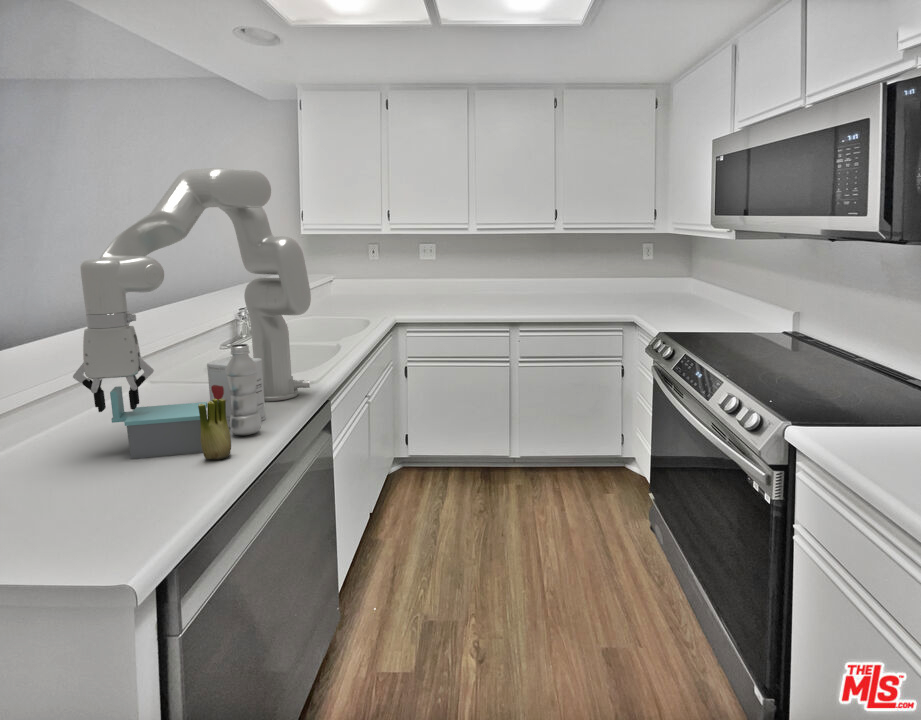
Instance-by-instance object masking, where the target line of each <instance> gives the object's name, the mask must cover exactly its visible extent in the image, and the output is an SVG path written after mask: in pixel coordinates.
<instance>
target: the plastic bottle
mask: <svg viewBox="0 0 921 720" xmlns="http://www.w3.org/2000/svg"><path fill="white" fill-rule="evenodd" d="M249 354H251V353H250V348H249V344H247V343H237V344H232V345H230V355H231V357H232V358H231V360H230V361H229V363H228V365H227V368H226V375H227V379H228V383H229V388H230V394H231V415H230V428H229V429H230V432H231V433H233V434H234V435H235V436H250V435H253V434H256V433H258V432H259V431H260V429H261V425H262V421H261V418H260V414H259V412H258V405H257V399H256V382H257V366H256V364H255V362H254V361H253V360H252V359H251V358H252V357H251V356H250V355H249Z"/></svg>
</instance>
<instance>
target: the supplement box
mask: <svg viewBox="0 0 921 720" xmlns="http://www.w3.org/2000/svg"><path fill="white" fill-rule="evenodd" d="M231 358H232V355H231V356H228V357H224V358H221V359H218V360H214V361H210V362H208V363H207V364H206V368H207V378H208V389H209V390H208V391H209V392H208V393H209V401H212V399H218V400H219V399H225V400H226V419H227V424H228V427H229V429H231V428H230V415H231V394H230V388H229V383H228V379H227V375H226V368H227V365H228V363H229V361H230V360H231ZM250 358H251V359H252V360H253V361H254V362H255V364H256V366H257V382H256V399H257V405H258V412H259V414H260V418H261V422H262V421H265V420H266V411H265V408H266V407H265V401H264V391H263V375H262V359H261V358H253V357H250ZM212 402H213V401H212Z"/></svg>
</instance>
